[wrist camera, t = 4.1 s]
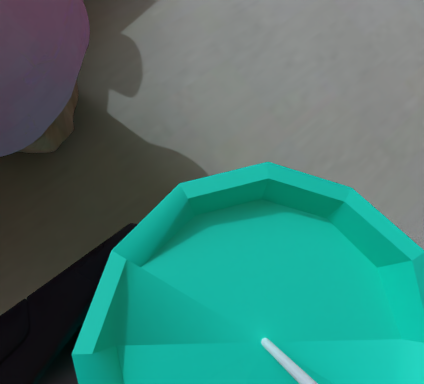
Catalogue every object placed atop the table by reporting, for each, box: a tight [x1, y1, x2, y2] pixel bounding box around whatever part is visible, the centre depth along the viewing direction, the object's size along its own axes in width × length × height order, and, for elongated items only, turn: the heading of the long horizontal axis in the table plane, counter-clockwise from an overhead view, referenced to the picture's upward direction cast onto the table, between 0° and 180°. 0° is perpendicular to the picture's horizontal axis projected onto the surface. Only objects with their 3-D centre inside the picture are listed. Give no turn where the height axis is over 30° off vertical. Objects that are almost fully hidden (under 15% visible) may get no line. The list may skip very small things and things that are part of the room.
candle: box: [71, 162, 424, 384], centre depth 9 cm, size 6×6×12 cm
